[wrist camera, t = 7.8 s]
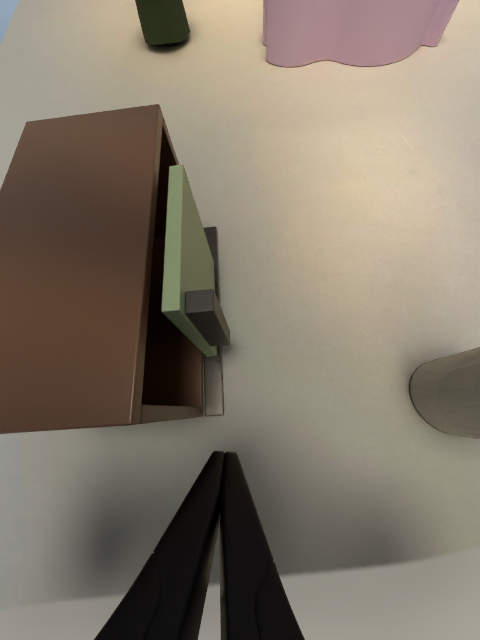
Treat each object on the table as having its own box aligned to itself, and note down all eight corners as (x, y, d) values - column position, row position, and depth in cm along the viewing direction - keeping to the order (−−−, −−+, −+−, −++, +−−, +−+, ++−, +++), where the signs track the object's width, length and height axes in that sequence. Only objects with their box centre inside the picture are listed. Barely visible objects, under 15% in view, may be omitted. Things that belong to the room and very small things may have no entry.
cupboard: (224, 415, 16) (178, 422, 7) (98, 423, 16) (-97, 440, 7) (217, 230, 21) (185, 99, 12) (122, 240, 22) (25, 121, 13)
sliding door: (234, 354, 17) (211, 307, 9) (206, 357, 17) (160, 311, 9) (229, 261, 19) (208, 161, 12) (205, 263, 19) (169, 165, 12)
